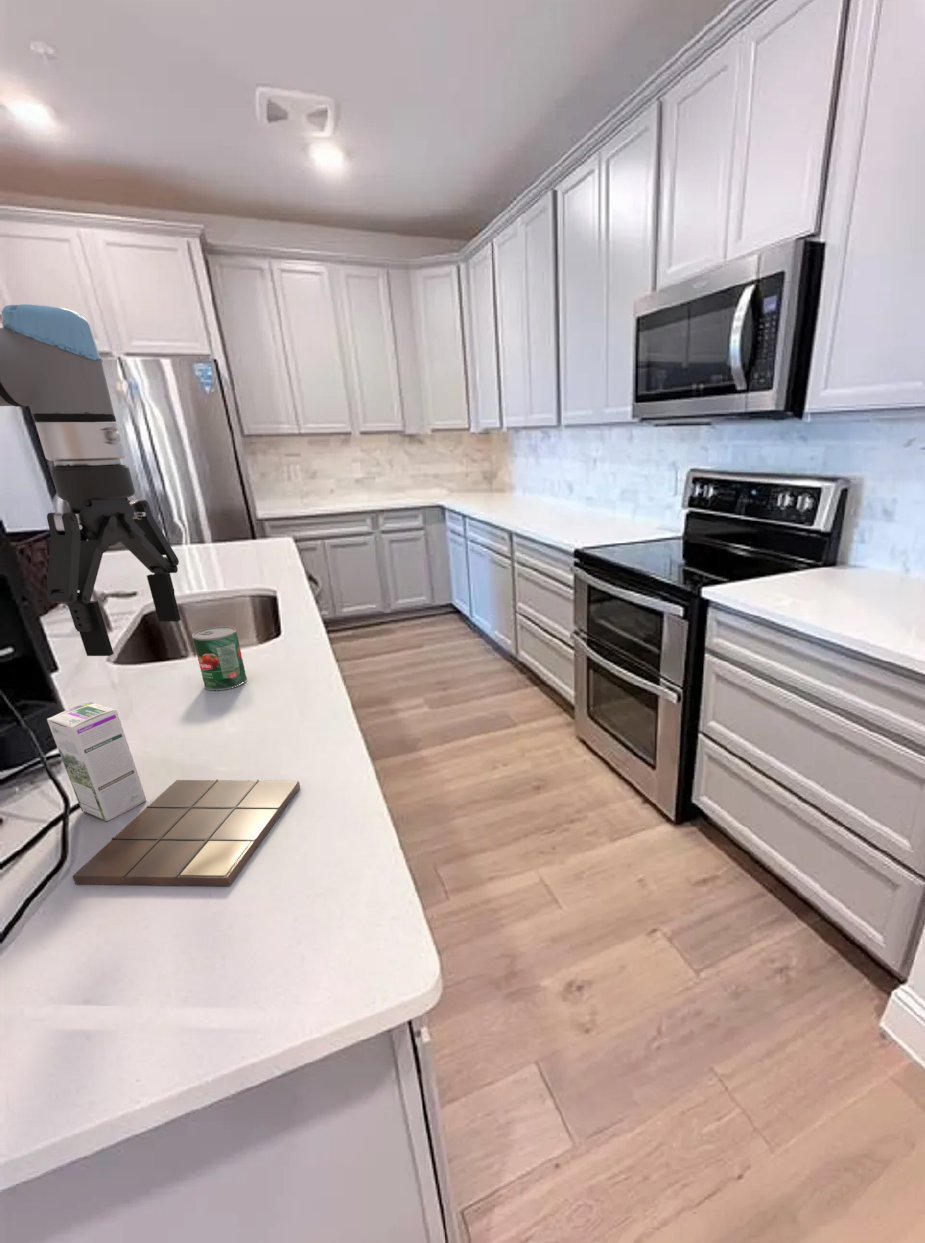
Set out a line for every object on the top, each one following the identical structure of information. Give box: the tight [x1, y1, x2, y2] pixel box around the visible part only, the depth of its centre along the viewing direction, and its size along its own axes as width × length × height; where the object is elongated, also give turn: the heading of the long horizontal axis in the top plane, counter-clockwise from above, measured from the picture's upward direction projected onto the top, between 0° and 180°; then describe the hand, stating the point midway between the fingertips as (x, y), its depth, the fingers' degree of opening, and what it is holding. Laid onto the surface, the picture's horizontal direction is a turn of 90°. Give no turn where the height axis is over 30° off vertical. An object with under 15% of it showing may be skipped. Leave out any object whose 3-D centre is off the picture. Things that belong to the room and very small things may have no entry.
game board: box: [71, 779, 301, 887], centre depth 76 cm, size 18×20×1 cm
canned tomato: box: [191, 625, 248, 691], centre depth 119 cm, size 8×8×11 cm
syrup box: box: [46, 702, 147, 822], centre depth 79 cm, size 6×6×14 cm
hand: (138, 636), depth 76 cm, fingers open, 13 cm apart
